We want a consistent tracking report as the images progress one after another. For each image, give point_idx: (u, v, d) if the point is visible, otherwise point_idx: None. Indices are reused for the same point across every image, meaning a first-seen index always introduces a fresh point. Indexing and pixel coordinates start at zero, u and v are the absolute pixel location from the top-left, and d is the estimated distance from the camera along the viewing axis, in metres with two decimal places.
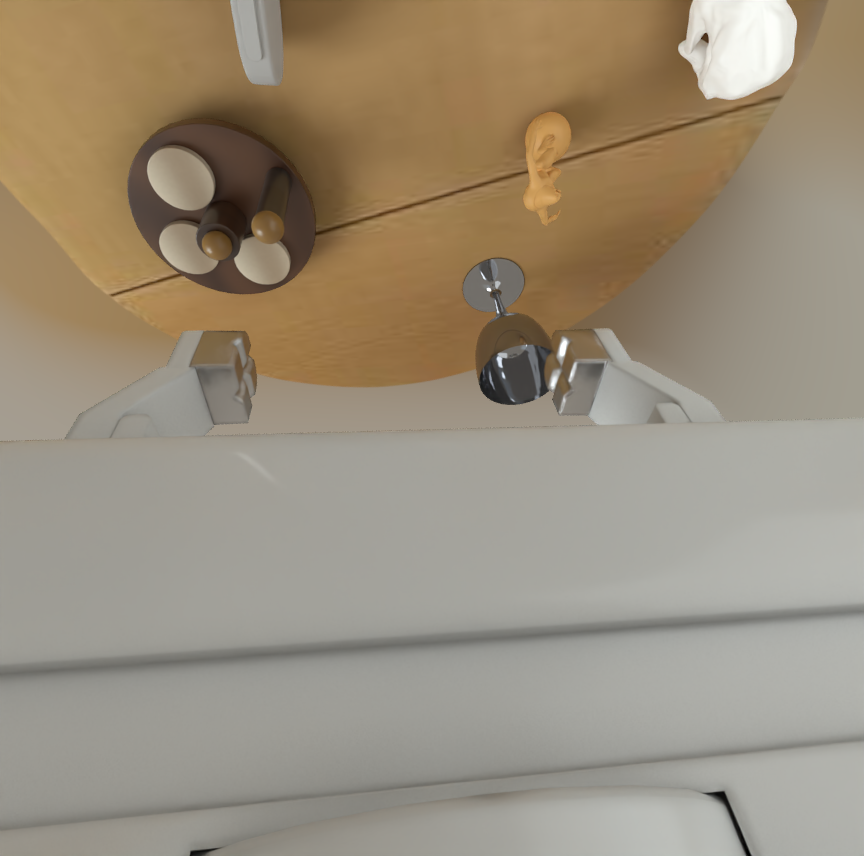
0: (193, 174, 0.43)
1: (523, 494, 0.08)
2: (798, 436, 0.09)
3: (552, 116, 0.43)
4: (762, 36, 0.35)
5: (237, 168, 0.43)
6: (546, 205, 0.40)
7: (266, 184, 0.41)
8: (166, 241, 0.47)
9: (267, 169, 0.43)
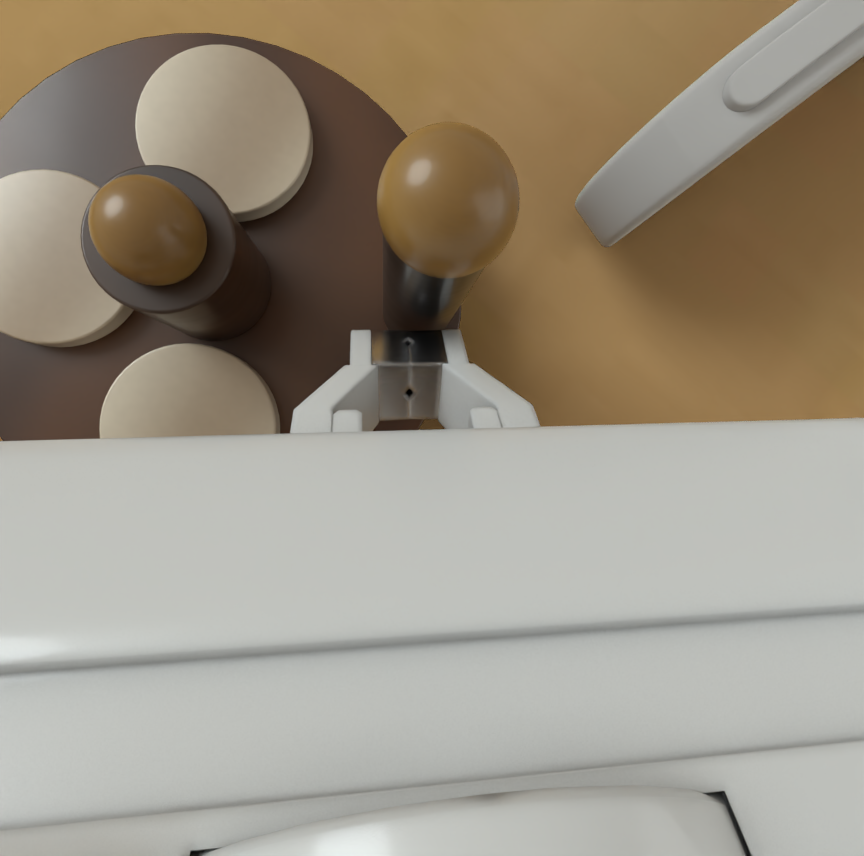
0: (264, 142, 0.16)
1: (522, 494, 0.08)
2: (798, 436, 0.09)
3: None
4: None
5: (357, 223, 0.17)
6: None
7: None
8: (16, 192, 0.15)
9: None
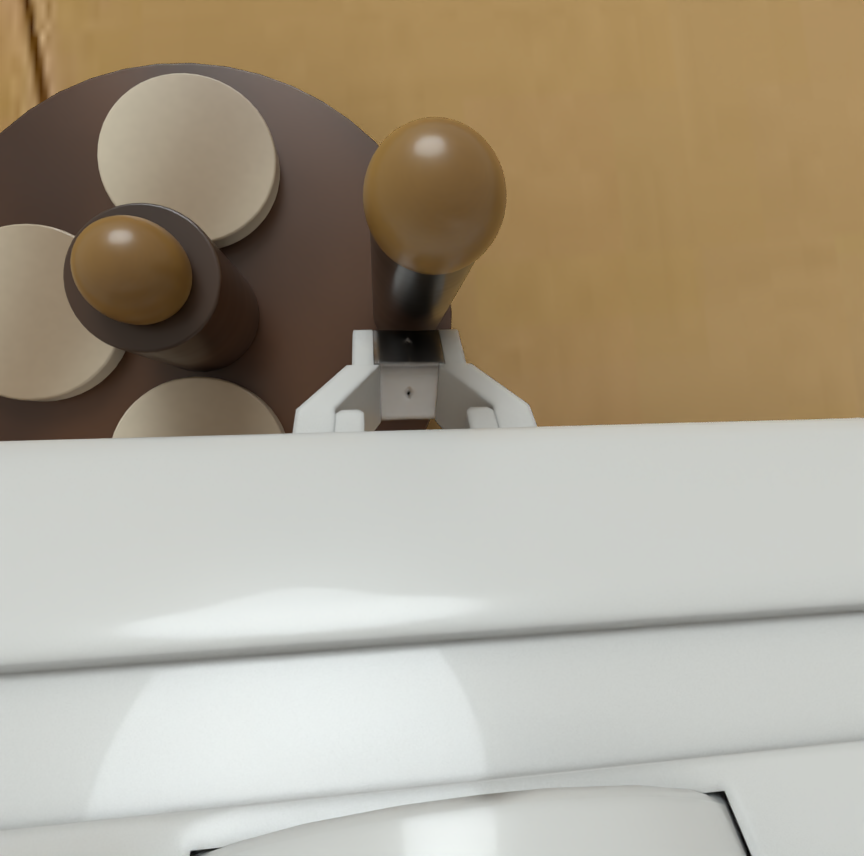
0: (230, 165, 0.15)
1: (522, 494, 0.08)
2: (798, 436, 0.09)
3: None
4: None
5: (334, 233, 0.16)
6: None
7: None
8: None
9: None
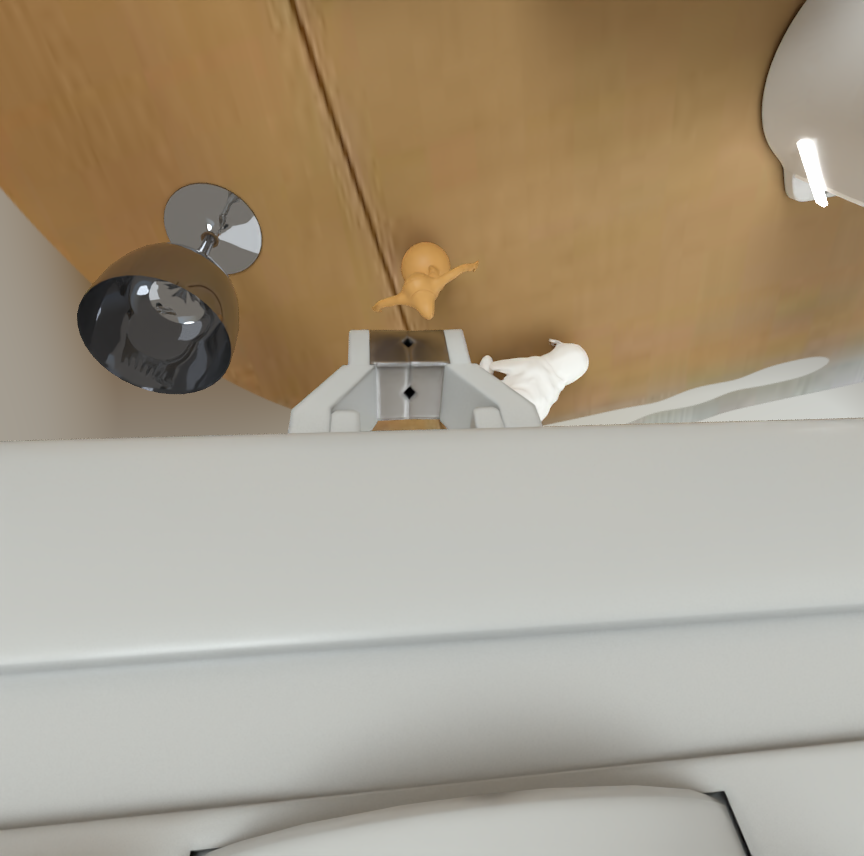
0: None
1: (522, 494, 0.08)
2: (798, 436, 0.09)
3: (449, 269, 0.41)
4: None
5: None
6: (416, 305, 0.33)
7: None
8: None
9: None
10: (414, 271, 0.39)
